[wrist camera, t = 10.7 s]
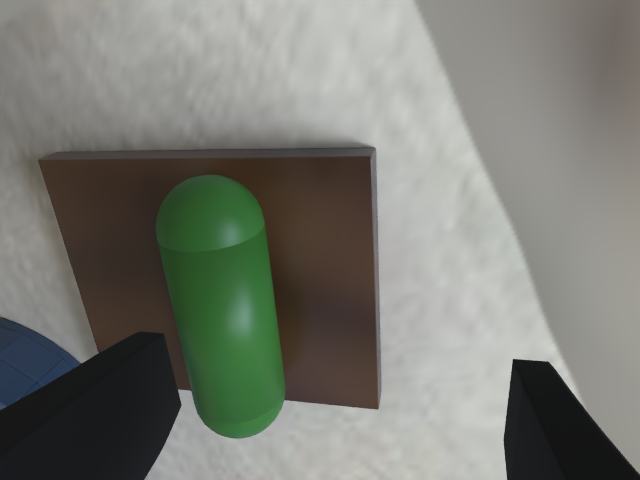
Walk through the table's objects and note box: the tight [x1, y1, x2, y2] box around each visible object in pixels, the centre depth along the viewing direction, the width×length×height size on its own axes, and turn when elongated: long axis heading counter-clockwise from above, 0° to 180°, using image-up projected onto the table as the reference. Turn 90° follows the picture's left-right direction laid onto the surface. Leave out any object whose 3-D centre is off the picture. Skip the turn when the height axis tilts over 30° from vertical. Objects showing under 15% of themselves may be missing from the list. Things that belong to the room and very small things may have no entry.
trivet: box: [39, 147, 381, 409], centre depth 21 cm, size 11×13×1 cm
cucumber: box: [156, 175, 285, 438], centre depth 18 cm, size 11×4×4 cm
